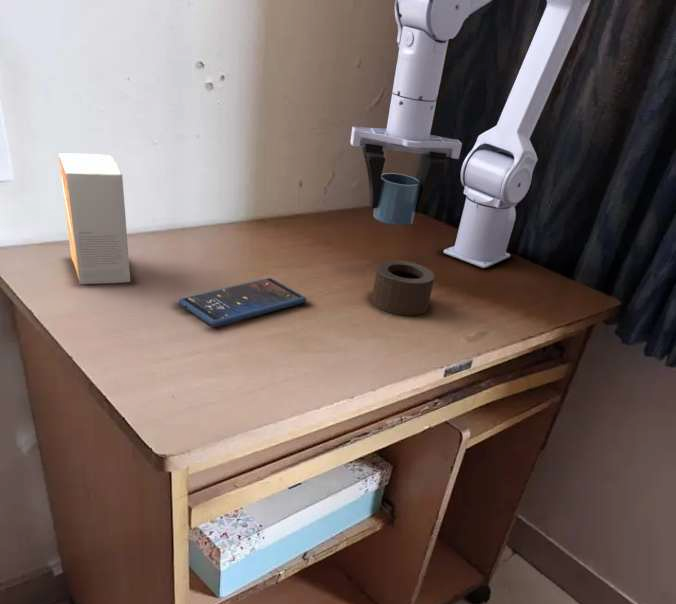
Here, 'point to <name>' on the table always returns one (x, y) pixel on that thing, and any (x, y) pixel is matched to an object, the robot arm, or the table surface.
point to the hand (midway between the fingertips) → (394, 208)
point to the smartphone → (241, 301)
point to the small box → (95, 217)
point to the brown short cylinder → (402, 287)
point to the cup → (397, 199)
